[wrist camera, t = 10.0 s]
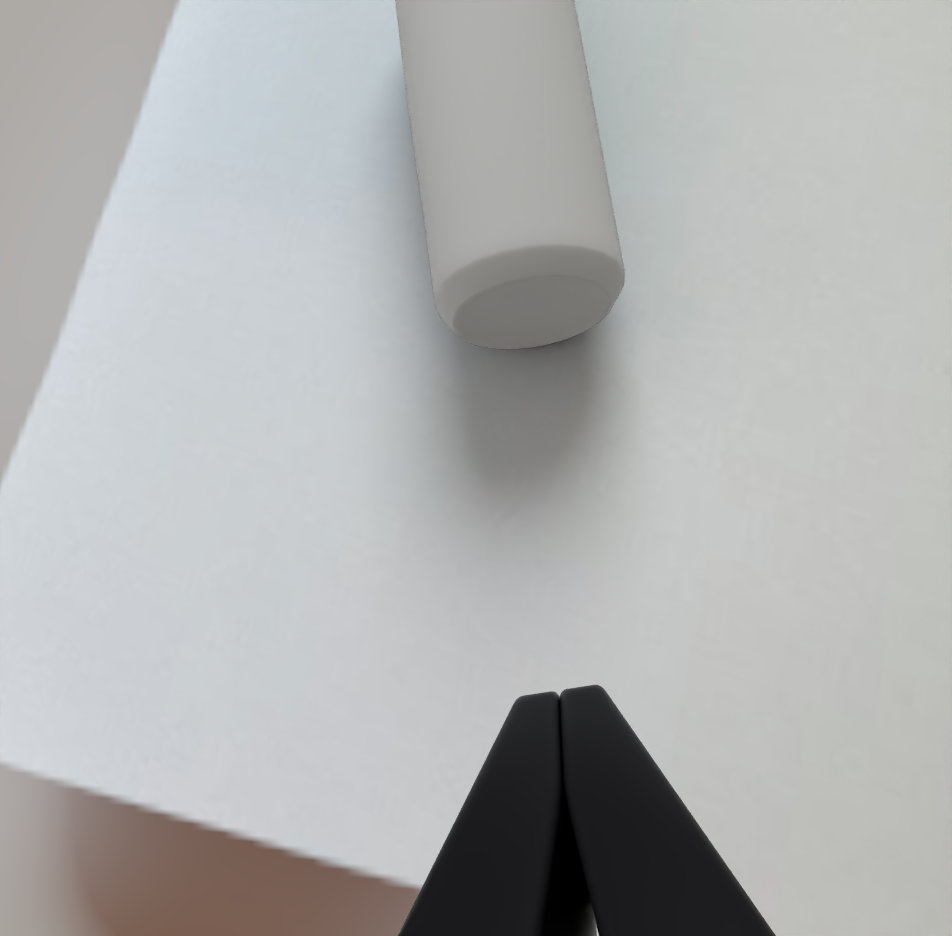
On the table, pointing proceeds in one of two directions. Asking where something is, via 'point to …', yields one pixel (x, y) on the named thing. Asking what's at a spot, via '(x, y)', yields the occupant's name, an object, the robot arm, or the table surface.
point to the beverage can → (509, 169)
